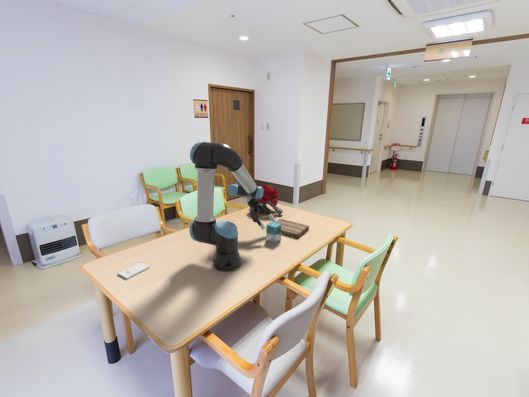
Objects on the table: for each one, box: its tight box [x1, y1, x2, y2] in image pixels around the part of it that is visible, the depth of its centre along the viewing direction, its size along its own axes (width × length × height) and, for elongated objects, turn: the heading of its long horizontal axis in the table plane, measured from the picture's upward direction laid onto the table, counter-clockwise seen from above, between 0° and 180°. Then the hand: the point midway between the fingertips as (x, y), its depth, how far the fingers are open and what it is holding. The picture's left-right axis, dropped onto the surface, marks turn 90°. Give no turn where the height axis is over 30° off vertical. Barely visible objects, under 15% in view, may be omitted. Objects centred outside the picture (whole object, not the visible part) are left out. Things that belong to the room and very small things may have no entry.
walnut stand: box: [276, 218, 310, 239], centre depth 189 cm, size 18×24×3 cm
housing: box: [265, 221, 282, 244], centre depth 172 cm, size 7×7×11 cm
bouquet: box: [257, 184, 284, 216], centre depth 221 cm, size 22×24×30 cm
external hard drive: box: [117, 262, 150, 281], centre depth 136 cm, size 2×8×12 cm
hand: (269, 225), depth 174 cm, fingers open, 13 cm apart
